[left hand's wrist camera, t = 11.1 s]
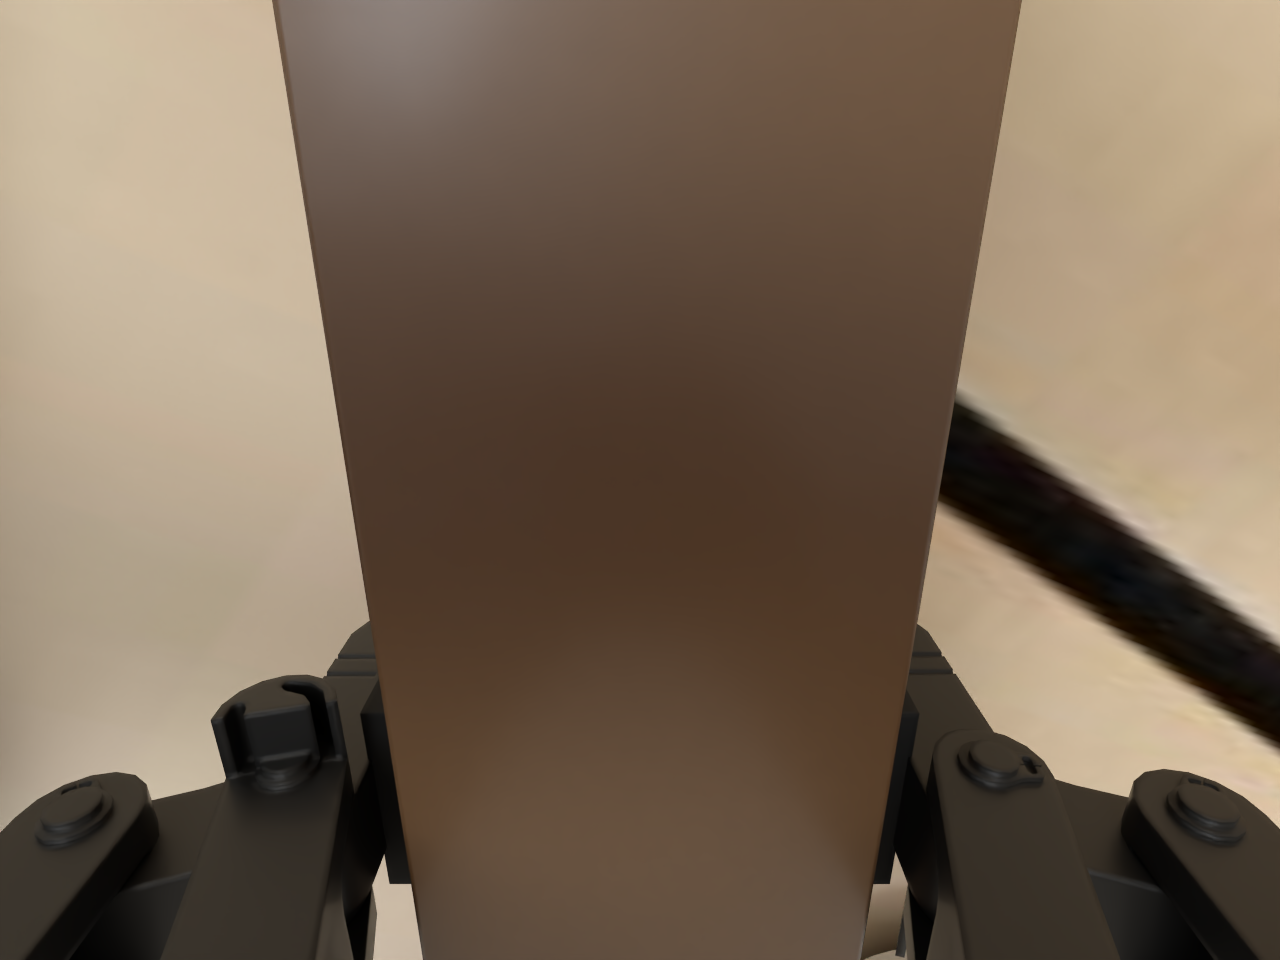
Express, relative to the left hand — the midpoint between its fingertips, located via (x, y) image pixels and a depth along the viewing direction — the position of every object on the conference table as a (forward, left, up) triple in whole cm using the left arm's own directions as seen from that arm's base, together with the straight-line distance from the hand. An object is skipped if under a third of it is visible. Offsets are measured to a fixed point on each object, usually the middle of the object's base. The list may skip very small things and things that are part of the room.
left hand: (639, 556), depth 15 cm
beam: (+7, +23, -1) cm, 24 cm away
